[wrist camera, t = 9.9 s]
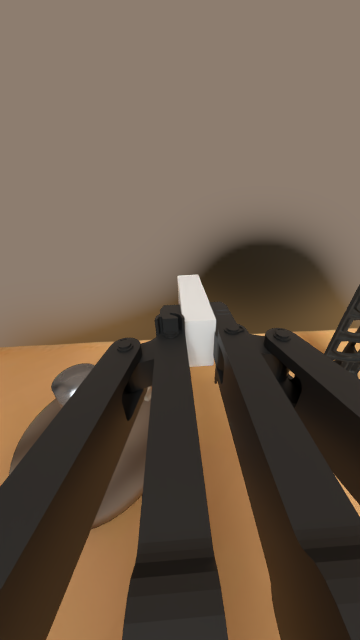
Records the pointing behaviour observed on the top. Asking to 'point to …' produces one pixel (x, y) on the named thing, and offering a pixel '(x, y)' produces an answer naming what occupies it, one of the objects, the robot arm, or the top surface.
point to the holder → (347, 338)
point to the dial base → (128, 470)
